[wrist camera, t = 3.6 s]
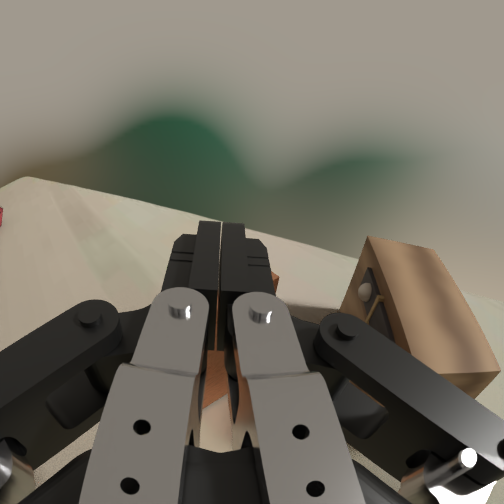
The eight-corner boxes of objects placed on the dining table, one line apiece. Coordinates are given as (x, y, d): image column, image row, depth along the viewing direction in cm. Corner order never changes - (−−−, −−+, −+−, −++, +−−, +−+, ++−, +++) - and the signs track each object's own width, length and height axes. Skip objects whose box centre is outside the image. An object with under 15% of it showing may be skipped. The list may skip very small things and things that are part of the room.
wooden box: (340, 440, 24) (398, 373, 18) (328, 307, 41) (355, 233, 35) (433, 435, 24) (501, 370, 18) (400, 316, 41) (433, 249, 34)
